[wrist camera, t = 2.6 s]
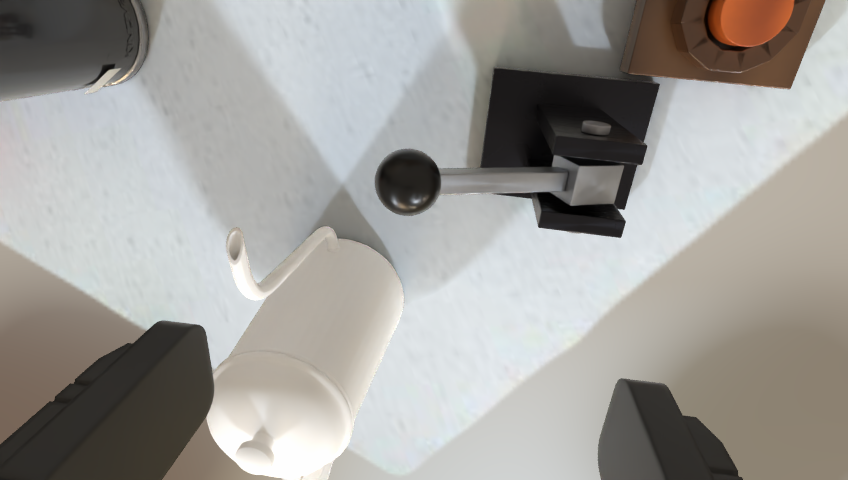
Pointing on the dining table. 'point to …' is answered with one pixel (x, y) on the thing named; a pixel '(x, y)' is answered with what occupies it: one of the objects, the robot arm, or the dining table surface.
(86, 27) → the robot arm
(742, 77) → the button base
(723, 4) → the warm button
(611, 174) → the lever
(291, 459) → the coffeepot
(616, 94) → the lever base
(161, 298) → the dining table surface
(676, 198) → the dining table surface
